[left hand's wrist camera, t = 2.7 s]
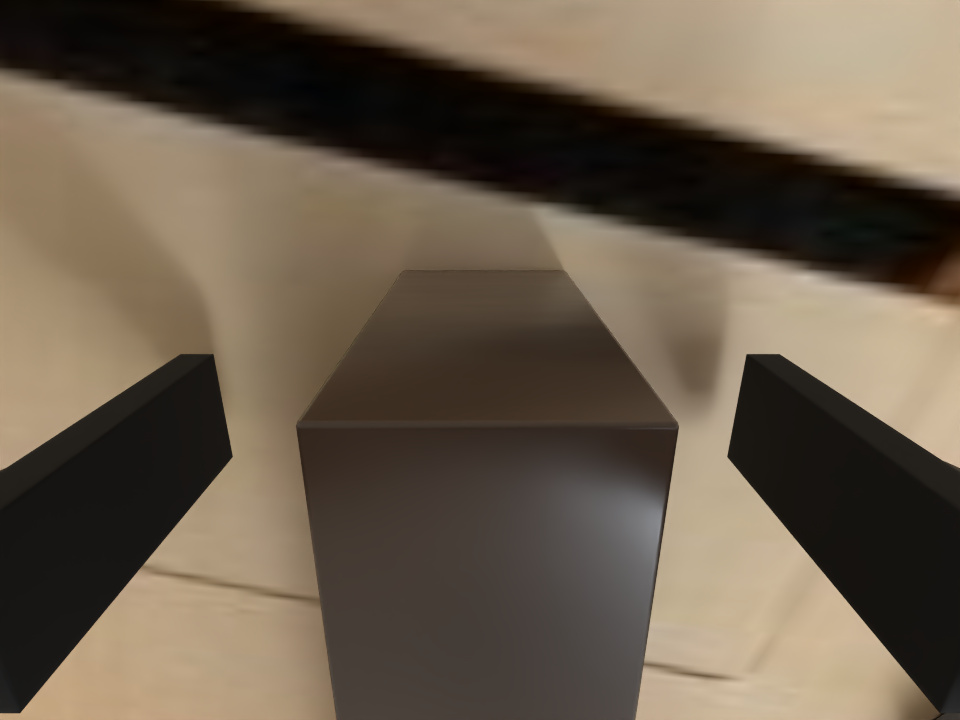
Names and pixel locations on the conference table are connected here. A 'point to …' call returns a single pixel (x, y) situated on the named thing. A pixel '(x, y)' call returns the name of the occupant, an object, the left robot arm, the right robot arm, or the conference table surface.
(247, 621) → the conference table surface
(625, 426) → the plank
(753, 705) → the conference table surface
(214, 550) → the conference table surface
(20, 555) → the left robot arm
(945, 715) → the cube
